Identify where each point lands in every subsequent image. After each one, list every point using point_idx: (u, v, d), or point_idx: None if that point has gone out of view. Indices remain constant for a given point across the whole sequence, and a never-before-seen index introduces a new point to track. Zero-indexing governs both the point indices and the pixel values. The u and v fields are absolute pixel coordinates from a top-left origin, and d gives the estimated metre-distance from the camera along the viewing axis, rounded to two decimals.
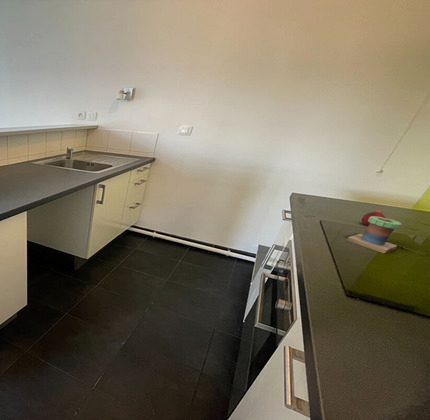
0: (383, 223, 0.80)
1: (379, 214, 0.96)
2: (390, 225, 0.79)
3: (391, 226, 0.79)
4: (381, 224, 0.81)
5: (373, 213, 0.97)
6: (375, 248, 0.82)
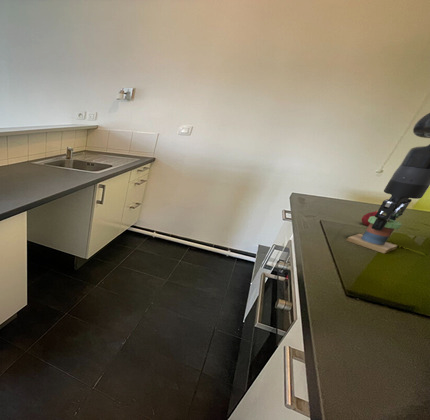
0: None
1: None
2: (390, 225, 0.79)
3: (391, 226, 0.79)
4: None
5: (373, 213, 0.97)
6: (375, 248, 0.82)
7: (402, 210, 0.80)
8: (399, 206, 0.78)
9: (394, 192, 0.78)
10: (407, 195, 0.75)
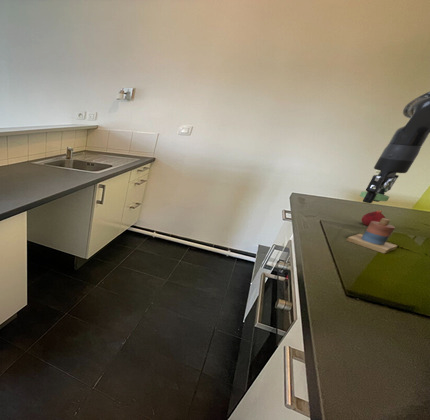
0: None
1: (379, 214, 0.96)
2: (379, 198, 0.89)
3: (380, 199, 0.89)
4: None
5: (373, 213, 0.97)
6: (375, 248, 0.82)
7: (390, 185, 0.89)
8: (387, 180, 0.87)
9: (382, 168, 0.87)
10: (394, 170, 0.85)
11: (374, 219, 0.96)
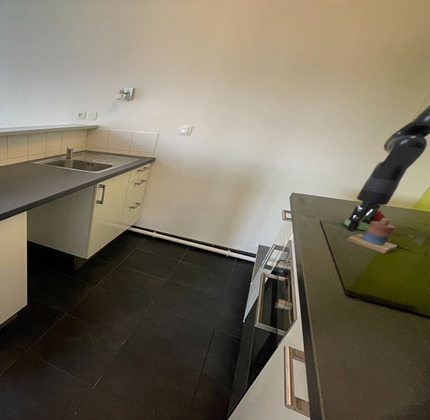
0: None
1: (378, 214, 0.96)
2: (361, 227, 0.94)
3: (362, 228, 0.94)
4: None
5: None
6: (375, 248, 0.82)
7: (372, 214, 0.94)
8: (369, 211, 0.92)
9: (364, 199, 0.92)
10: (375, 202, 0.90)
11: (374, 219, 0.96)
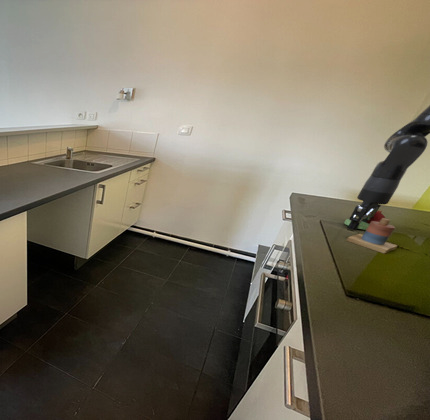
0: None
1: (379, 214, 0.96)
2: (362, 227, 0.93)
3: (362, 227, 0.93)
4: None
5: None
6: (375, 248, 0.82)
7: (372, 214, 0.94)
8: (369, 210, 0.92)
9: (364, 199, 0.92)
10: (375, 201, 0.89)
11: (374, 219, 0.96)
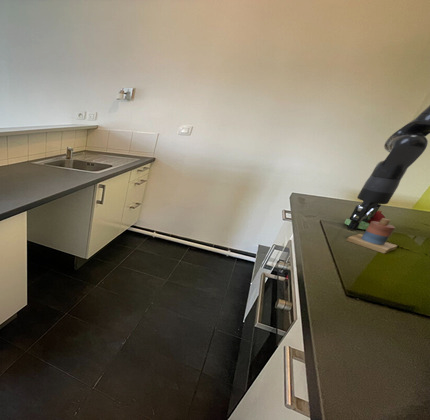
0: None
1: (379, 214, 0.96)
2: (362, 226, 0.93)
3: (363, 227, 0.93)
4: None
5: None
6: (375, 248, 0.82)
7: (372, 214, 0.94)
8: (369, 210, 0.92)
9: (365, 199, 0.91)
10: (375, 201, 0.89)
11: (374, 219, 0.96)
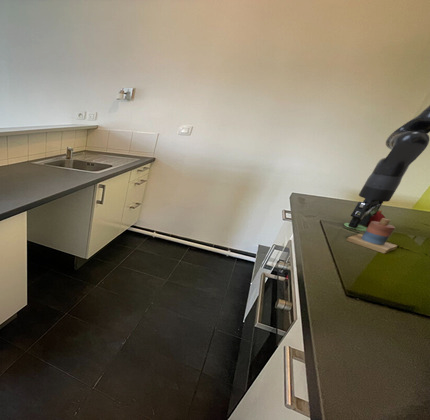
0: None
1: (379, 214, 0.96)
2: None
3: None
4: None
5: None
6: (375, 248, 0.82)
7: (375, 211, 0.93)
8: (371, 208, 0.91)
9: (366, 196, 0.91)
10: (377, 198, 0.89)
11: (374, 219, 0.96)
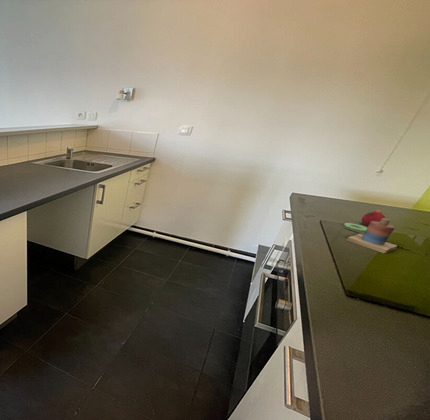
0: None
1: (379, 214, 0.96)
2: None
3: None
4: None
5: (373, 213, 0.97)
6: (375, 248, 0.82)
7: None
8: None
9: None
10: None
11: (374, 219, 0.96)
